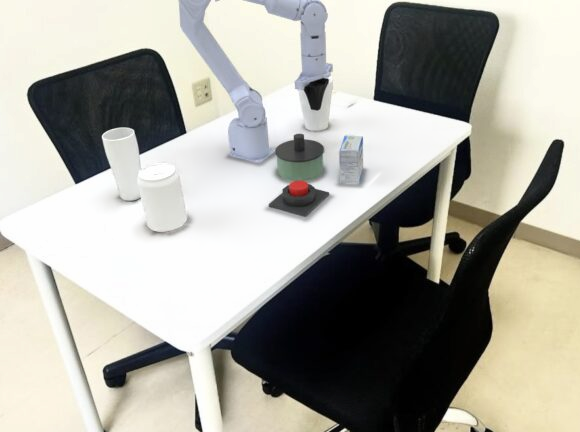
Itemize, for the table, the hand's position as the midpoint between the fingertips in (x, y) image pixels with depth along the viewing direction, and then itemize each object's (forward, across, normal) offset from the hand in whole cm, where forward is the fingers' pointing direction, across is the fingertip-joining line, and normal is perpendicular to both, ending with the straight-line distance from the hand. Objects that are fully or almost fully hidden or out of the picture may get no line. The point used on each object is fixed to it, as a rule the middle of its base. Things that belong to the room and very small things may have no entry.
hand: (315, 109), depth 135 cm
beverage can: (+11, -44, +10) cm, 46 cm away
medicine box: (+11, -10, -15) cm, 21 cm away
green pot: (+10, -13, -3) cm, 17 cm away
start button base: (+10, -25, -10) cm, 29 cm away
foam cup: (+11, +12, +7) cm, 17 cm away
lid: (+5, -13, -3) cm, 14 cm away
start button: (+8, -25, -10) cm, 28 cm away
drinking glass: (+11, -39, +25) cm, 48 cm away
